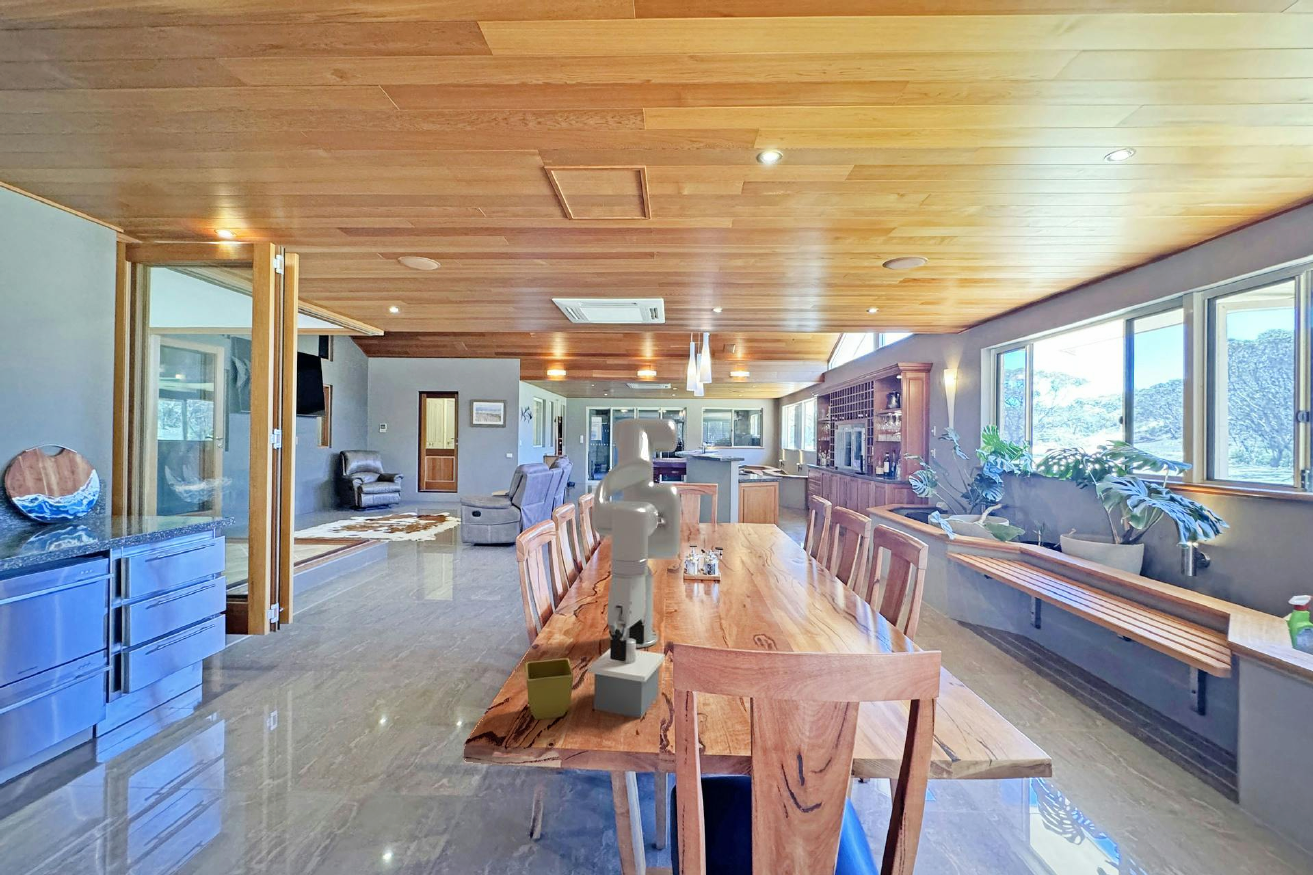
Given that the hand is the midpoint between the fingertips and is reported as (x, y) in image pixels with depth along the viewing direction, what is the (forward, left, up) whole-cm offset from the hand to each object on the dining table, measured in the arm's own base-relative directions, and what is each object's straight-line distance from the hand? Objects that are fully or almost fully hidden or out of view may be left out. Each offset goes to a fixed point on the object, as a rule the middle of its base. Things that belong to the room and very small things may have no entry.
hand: (627, 651), depth 112 cm
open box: (0, 0, -11) cm, 11 cm away
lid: (0, 0, -3) cm, 3 cm away
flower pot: (+9, -13, -11) cm, 19 cm away
